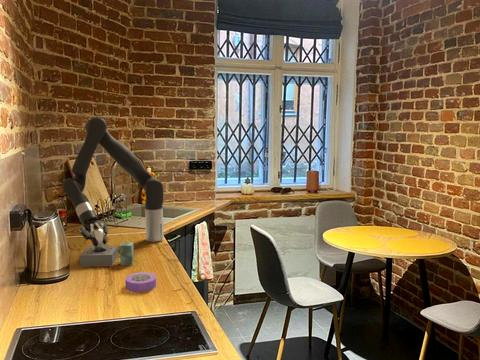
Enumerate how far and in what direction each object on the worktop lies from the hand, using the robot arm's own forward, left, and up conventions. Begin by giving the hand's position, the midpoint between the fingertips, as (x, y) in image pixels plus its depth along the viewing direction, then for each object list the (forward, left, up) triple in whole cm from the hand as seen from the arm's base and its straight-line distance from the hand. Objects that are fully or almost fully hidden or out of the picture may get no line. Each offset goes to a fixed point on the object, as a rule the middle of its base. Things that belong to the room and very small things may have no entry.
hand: (101, 244), depth 197 cm
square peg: (-12, +3, -8) cm, 15 cm away
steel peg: (+1, -1, -5) cm, 5 cm away
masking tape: (-22, +31, -9) cm, 38 cm away
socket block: (+1, -1, -8) cm, 8 cm away
